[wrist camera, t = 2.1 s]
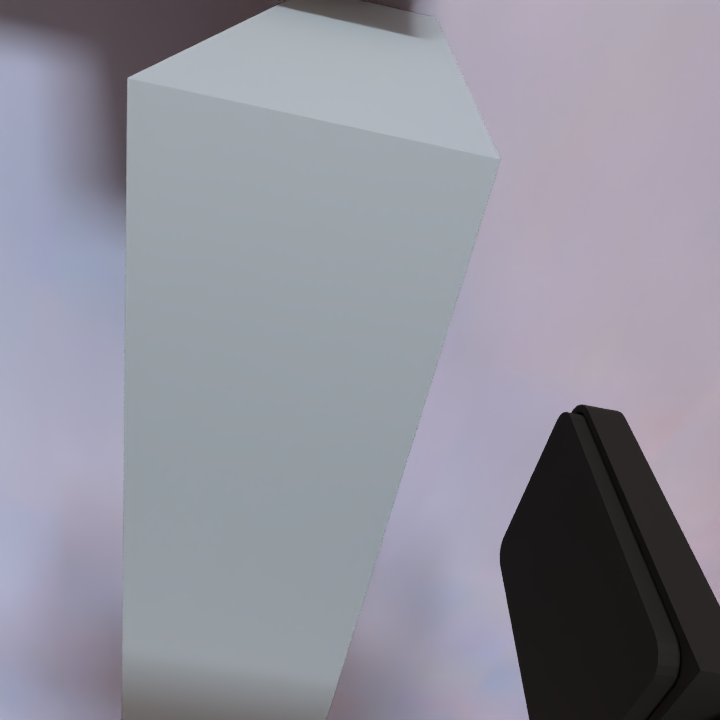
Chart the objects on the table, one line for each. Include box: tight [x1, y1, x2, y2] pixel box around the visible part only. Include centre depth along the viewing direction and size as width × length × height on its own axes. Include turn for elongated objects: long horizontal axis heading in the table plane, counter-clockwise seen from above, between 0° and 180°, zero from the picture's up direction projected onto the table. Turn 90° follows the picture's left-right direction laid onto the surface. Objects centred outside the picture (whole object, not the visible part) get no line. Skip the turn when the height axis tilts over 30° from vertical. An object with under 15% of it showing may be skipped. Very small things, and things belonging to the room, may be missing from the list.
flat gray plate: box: [122, 0, 501, 720], centre depth 13 cm, size 10×3×12 cm, turn 169°
